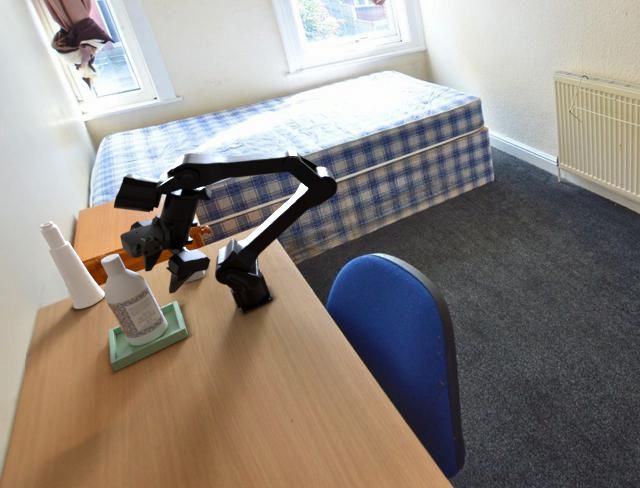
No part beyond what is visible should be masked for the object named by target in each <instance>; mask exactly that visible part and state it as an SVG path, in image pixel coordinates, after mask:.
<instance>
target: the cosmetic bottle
mask: <svg viewBox="0 0 640 488" xmlns="http://www.w3.org/2000/svg"><path fill="white" fill-rule="evenodd" d="M39 227H40V233H41V234H42V237H43V238H44V239H45V240H44V241H46V243H47V245H48V246H49V247H48V252H49V254H50V256H51V259H52V260H53V262H54V264H55V266H56V268H57V270H58V272H59V274H60V277H61V278H62V281H63V282H64V285H65V287H66V290H67V292H68V294H69V296H70V299H71V302H72V306H73V308H74V309H75V310H81V309H86V308H89V307H92V306H94V305H95V304H97V303H99V302H100V301H101V300H103V299H104V298H105V294H104V290H103V289H102V288H101V287H100V286H99V285H98V282H96V281H95V279H94V278H93V277H92V275H91V274H90V272H89V271H88V269H87V267H86V266H85V265H84V263H83V261H82V260H81V258H80V257H79V255H78V253H77V252H76V251H75V249H74V248H73V246H72V245H71V242H70V241H66V239H65V237H64V236H63V234H62V232H61V230H60V229H59V226H58V225H57V224H55V223H54V222H53V221H47V222H44V223H41V224H40V225H39Z"/></svg>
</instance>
